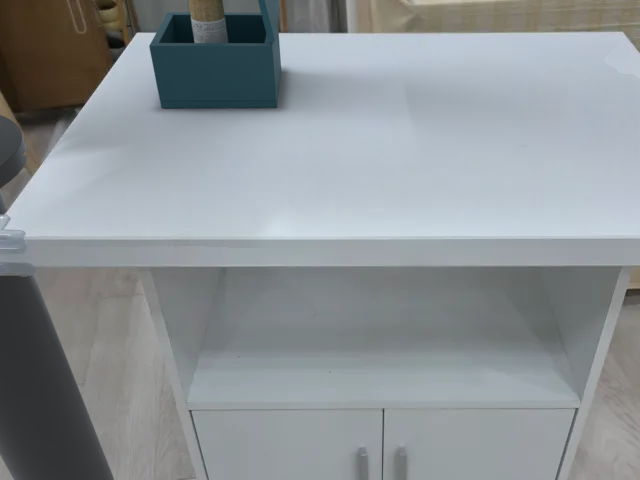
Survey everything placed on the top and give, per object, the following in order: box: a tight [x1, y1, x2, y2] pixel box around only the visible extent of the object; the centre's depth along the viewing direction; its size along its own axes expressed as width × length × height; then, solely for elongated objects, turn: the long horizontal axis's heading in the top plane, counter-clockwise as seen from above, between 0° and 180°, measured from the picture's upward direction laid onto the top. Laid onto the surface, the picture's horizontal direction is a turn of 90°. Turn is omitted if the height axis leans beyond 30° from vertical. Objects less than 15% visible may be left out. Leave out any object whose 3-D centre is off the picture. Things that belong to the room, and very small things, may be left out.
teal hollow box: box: [149, 11, 282, 109], centre depth 90 cm, size 15×13×8 cm
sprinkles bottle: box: [188, 0, 228, 43], centre depth 88 cm, size 5×5×13 cm
